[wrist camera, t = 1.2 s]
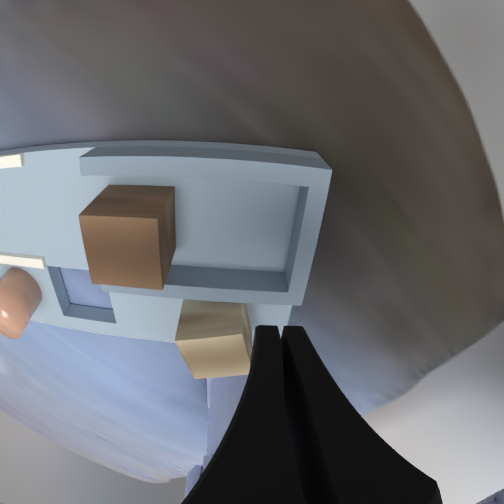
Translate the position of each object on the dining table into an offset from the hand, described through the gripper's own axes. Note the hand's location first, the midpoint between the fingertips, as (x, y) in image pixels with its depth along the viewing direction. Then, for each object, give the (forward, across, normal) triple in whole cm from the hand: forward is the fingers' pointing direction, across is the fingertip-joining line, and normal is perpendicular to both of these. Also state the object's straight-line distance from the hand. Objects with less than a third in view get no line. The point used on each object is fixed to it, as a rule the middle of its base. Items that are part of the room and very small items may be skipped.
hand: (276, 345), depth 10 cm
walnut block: (+9, +7, 0) cm, 11 cm away
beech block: (+9, +2, +7) cm, 12 cm away
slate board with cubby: (+10, +9, +3) cm, 14 cm away
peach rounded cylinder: (+9, +19, +7) cm, 22 cm away
